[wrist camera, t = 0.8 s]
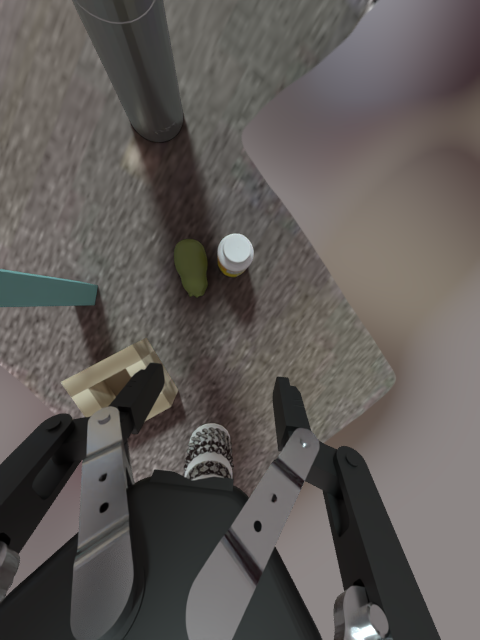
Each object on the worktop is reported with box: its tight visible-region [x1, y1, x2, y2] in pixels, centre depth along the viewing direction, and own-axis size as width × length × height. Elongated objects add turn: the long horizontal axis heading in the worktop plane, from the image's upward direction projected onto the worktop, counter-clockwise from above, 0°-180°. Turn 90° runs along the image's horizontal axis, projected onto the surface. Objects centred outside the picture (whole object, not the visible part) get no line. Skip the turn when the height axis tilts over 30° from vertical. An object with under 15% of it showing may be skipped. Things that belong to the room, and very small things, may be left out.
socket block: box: [61, 338, 178, 421], centre depth 33 cm, size 12×12×6 cm
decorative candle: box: [184, 423, 234, 480], centre depth 27 cm, size 9×9×25 cm
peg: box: [0, 269, 98, 307], centre depth 26 cm, size 4×4×16 cm
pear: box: [174, 239, 208, 298], centre depth 34 cm, size 6×5×10 cm
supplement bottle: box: [217, 234, 254, 277], centre depth 31 cm, size 6×6×10 cm
